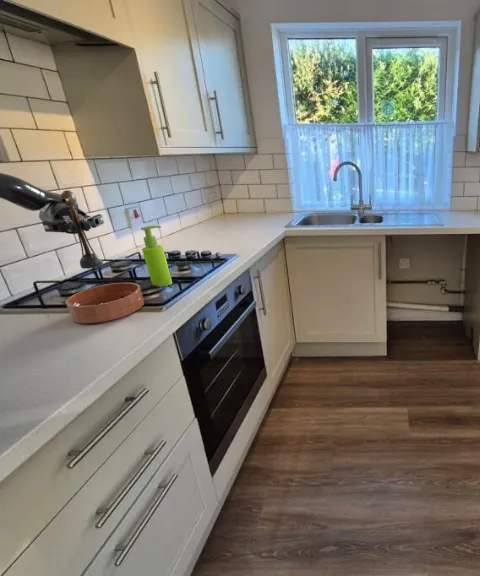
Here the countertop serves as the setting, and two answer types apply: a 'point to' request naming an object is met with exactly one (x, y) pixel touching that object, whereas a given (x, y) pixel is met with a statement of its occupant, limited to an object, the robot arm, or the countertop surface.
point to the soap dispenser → (155, 259)
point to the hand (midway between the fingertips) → (81, 227)
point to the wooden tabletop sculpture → (81, 234)
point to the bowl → (105, 302)
